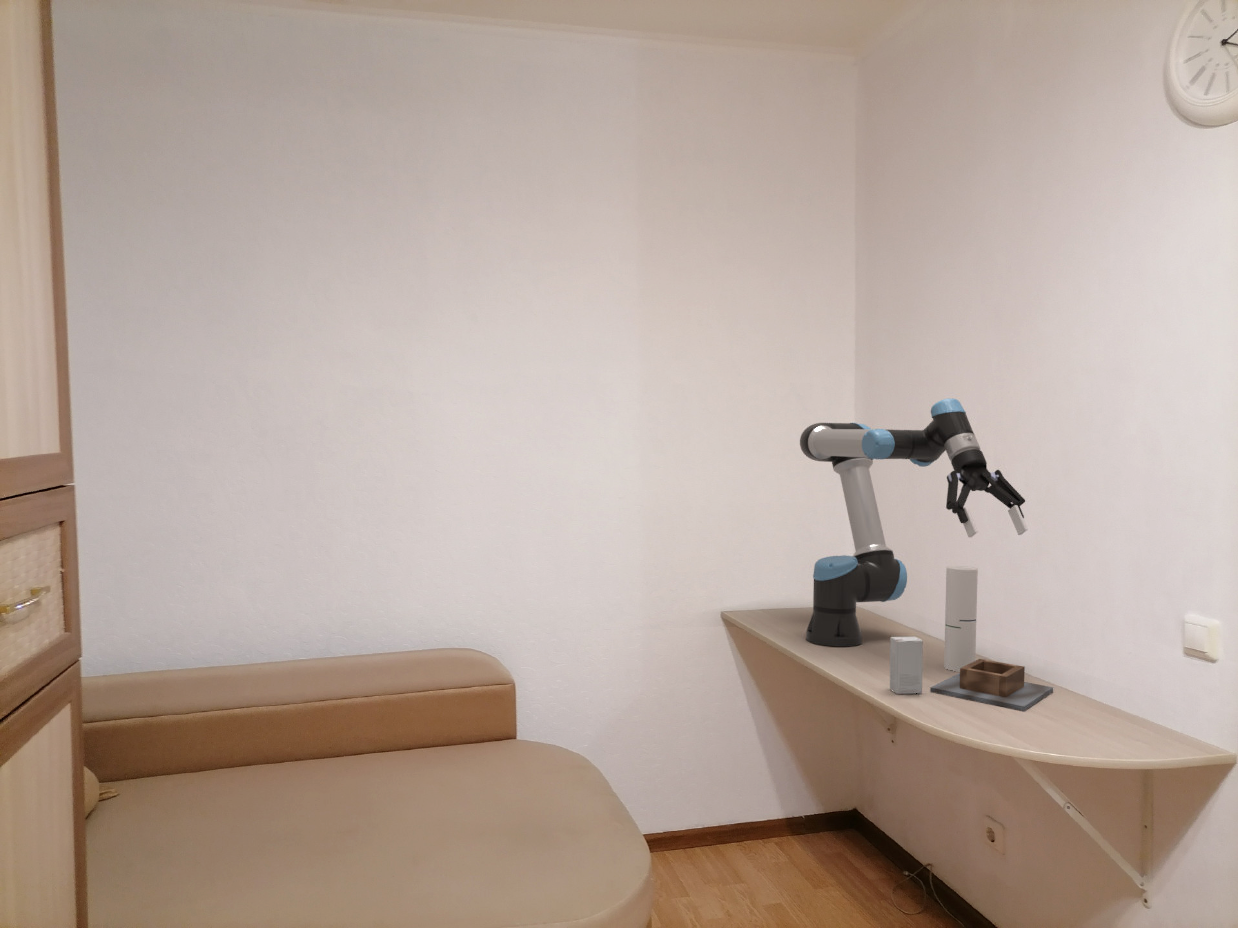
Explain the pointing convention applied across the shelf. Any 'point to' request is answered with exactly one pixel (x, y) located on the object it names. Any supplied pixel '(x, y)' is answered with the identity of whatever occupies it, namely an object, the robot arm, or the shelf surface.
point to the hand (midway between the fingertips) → (998, 533)
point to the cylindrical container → (960, 617)
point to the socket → (993, 685)
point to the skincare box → (906, 665)
